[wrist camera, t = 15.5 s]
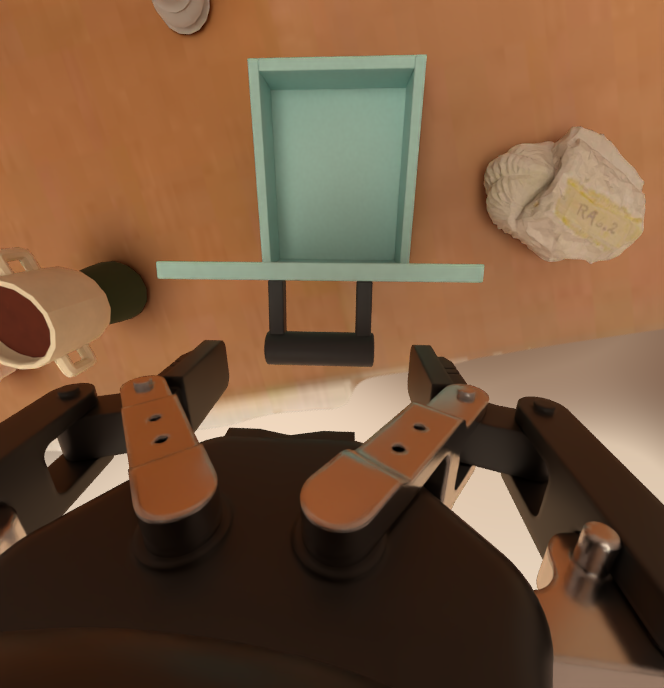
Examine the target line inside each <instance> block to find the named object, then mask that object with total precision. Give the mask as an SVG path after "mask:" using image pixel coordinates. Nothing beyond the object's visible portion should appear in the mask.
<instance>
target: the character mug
mask: <svg viewBox="0 0 664 688" xmlns="http://www.w3.org/2000/svg"><path fill="white" fill-rule="evenodd" d="M15 260H19V261H20V262H21V264H22V266H23V267H24V269H25V270H26V271H25V272H19V273H14V272H13V270H12V269H11V267H10V266H9V264H8V263H7V261H15ZM146 302H147V290H146V287H145V285H144V283H143V281H142V279H141V277H140V275H138V274H137V273H136V272H135V271H134V270H132V269H131V268H130V267H129V266H127V265H124V264H121V263H118V262H115V261H111V262H101V263H98V264H95V265H92V266H89V267H87V268H85V269H82V270H80V271H76V270H72V269H68V268H63V267H51V268H43V269H41V267H40V266H39V264H38V262H37V261H36V259H35V258H34V256H33V254H32V253H31V252H30V251H29V250H28V249H25V248H20V247H15V248H5V249H0V363H1V364H2V365H5V366H9V367H13V368H17V369H34V368H39V367H42V366H44V365H46V364H48V363H50V362H52V361H55V363H56V364H57V366H58V367H59V369H60V370H61V372H62V373H63V374H64V375H65V376H67V377H74V376H77V375H78V374H80V373H82V372H83V371H85V370H87V369H89V368H90V367H92V366H93V365H94V364H95V363H96V361H97V359H96V356H95V354H94V353H93V351H92V349H91V348H90V346H89V343H91V342H92V341H94V340H96V339H97V338H99V337H100V336H101V335H102V334H103V333H104V331H105V330H106V328H107V326H108V325H109V324H113V323H117V322H121V321H124V320H128V319H131V318H133V317H135V316H136V315H138V314H139V313H141V312H142V310H143V308H144V306H145V304H146ZM75 350H77V352H78V353H79V355H80V356H81V358H82V360H80V361H78V362H76V363H74V364H73V362H72V361H71V359H70V358H69V356H68V355H67V354H69V353H71V352H73V351H75Z"/></svg>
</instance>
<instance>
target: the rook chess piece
mask: <svg viewBox="0 0 664 688" xmlns="http://www.w3.org/2000/svg"><path fill="white" fill-rule="evenodd" d="M152 2H153V5H154V7H155V10H156V11H157V13H158V14H159V15H160V16H161V18H162V19H163V20H164V21H165V23H166V24H167V25H168V26H169V28H171V29H173V30H174V31H176V32H178V33H179V34H192V33H194V32H196V31H198V30H200V28H201V27H202V26H203V24H204V23H205V22H206V20H207V16H208V12H209V9H210V4H209V0H152Z"/></svg>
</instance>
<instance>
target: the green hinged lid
mask: <svg viewBox="0 0 664 688" xmlns="http://www.w3.org/2000/svg"><path fill="white" fill-rule="evenodd" d="M156 267H157V277H158V278H159V279H221V280H269V281H268V292H269V330H270V331H269V332H268V333H267V335H266V338H265V346H264V352H265V359H266V362H267V364H274V365H315V366H356V367H372V366H373V362H374V335H373V333H371V313H372V284H373V283H372V281H388V282H471V283H481V282H483V275H484V264H416V263H308V262H200V261H157V262H156ZM285 280H304V281H357V284H356V323H355V333H348V332H297V331H287V327H286V281H285Z"/></svg>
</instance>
